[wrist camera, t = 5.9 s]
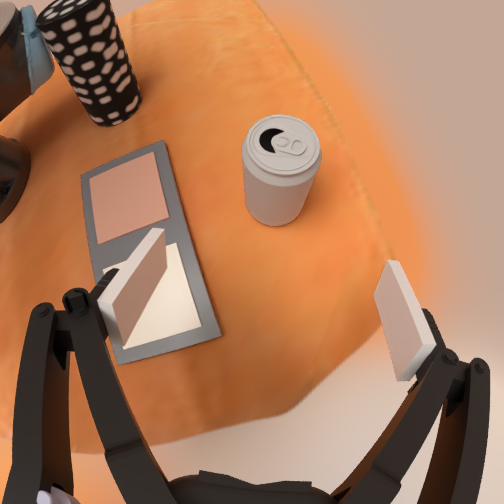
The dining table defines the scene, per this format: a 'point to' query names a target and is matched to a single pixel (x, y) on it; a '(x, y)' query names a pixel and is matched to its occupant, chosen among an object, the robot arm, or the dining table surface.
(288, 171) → the beverage can
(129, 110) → the spotted tube
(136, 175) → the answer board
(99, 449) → the dining table surface
